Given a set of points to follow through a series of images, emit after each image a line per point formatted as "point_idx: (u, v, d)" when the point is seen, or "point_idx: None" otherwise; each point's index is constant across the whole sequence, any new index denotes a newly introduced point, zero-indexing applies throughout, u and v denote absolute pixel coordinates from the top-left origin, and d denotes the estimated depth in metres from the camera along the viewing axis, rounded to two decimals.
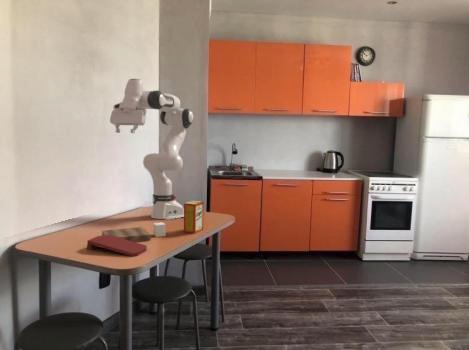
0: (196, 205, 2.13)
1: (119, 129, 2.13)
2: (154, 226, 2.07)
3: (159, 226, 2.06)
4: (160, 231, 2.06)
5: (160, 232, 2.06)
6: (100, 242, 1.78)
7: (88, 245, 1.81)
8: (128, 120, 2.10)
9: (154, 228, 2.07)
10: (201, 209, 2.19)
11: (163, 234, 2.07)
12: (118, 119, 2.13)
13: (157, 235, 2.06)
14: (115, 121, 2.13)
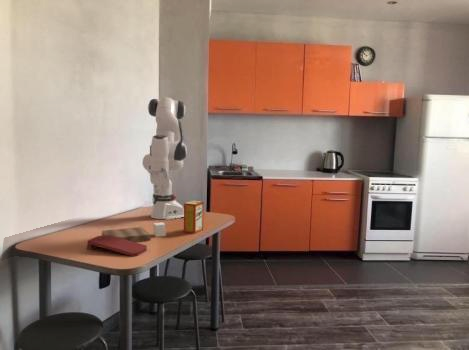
0: (196, 205, 2.13)
1: (157, 190, 2.10)
2: (154, 226, 2.07)
3: (159, 226, 2.06)
4: (160, 231, 2.06)
5: (160, 232, 2.06)
6: (100, 242, 1.78)
7: (88, 245, 1.81)
8: (157, 183, 2.03)
9: (154, 228, 2.07)
10: (201, 209, 2.19)
11: (163, 234, 2.07)
12: (153, 180, 2.09)
13: (157, 235, 2.06)
14: (152, 182, 2.10)
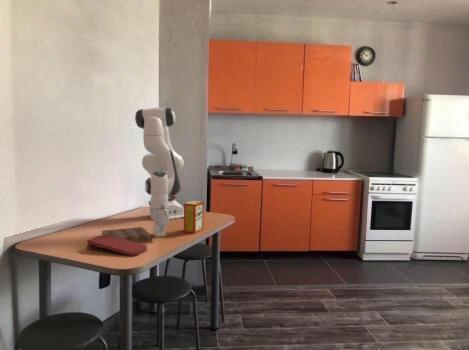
0: (196, 205, 2.13)
1: None
2: (154, 226, 2.07)
3: (159, 226, 2.06)
4: None
5: (160, 232, 2.06)
6: (100, 242, 1.78)
7: (88, 245, 1.81)
8: (157, 220, 2.05)
9: (154, 228, 2.07)
10: (201, 209, 2.19)
11: (163, 234, 2.07)
12: (153, 216, 2.11)
13: (157, 235, 2.06)
14: (152, 218, 2.12)
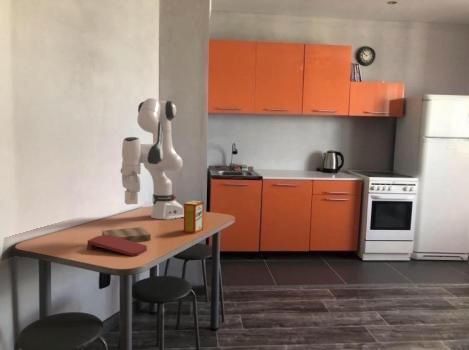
0: (196, 205, 2.13)
1: None
2: (125, 194, 1.98)
3: (130, 193, 1.96)
4: None
5: (132, 200, 1.97)
6: (100, 242, 1.78)
7: (88, 245, 1.81)
8: (128, 187, 1.96)
9: (125, 196, 1.98)
10: (201, 209, 2.19)
11: (135, 202, 1.98)
12: (125, 183, 2.02)
13: (128, 203, 1.96)
14: (124, 186, 2.03)
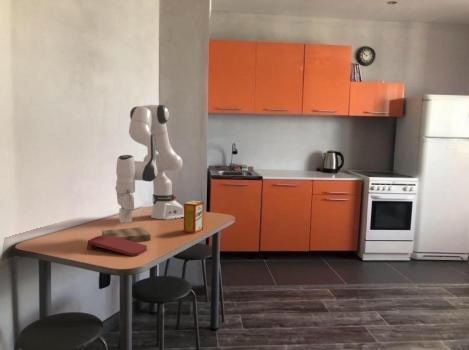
0: (196, 205, 2.13)
1: None
2: (120, 211, 1.98)
3: (125, 211, 1.97)
4: None
5: (126, 218, 1.97)
6: (100, 242, 1.78)
7: (88, 245, 1.81)
8: (122, 205, 1.96)
9: (120, 213, 1.98)
10: (201, 209, 2.19)
11: (129, 220, 1.98)
12: (119, 201, 2.02)
13: (123, 221, 1.97)
14: (119, 203, 2.03)
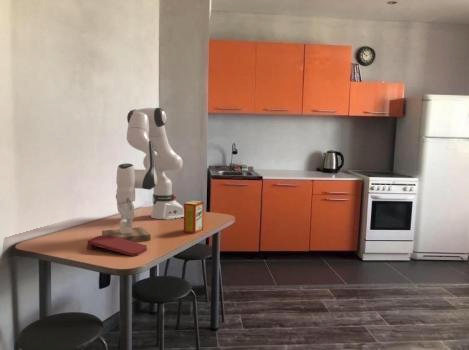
0: (196, 205, 2.13)
1: None
2: (120, 223, 1.99)
3: (125, 223, 1.97)
4: (127, 228, 1.98)
5: (127, 229, 1.98)
6: (100, 242, 1.78)
7: (88, 245, 1.81)
8: (123, 214, 1.97)
9: (120, 225, 1.99)
10: (201, 209, 2.19)
11: (130, 231, 1.99)
12: (120, 209, 2.02)
13: (123, 232, 1.97)
14: (119, 212, 2.04)
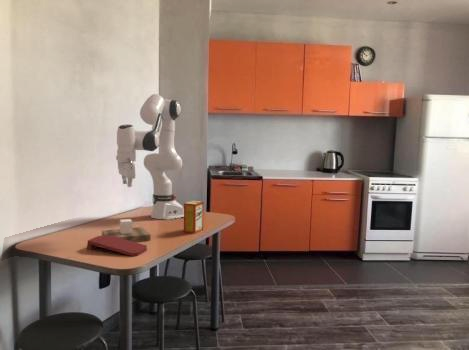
0: (196, 205, 2.13)
1: (125, 180, 2.06)
2: (120, 223, 1.99)
3: (125, 223, 1.97)
4: (127, 228, 1.98)
5: (127, 229, 1.98)
6: (100, 242, 1.78)
7: (88, 245, 1.81)
8: (124, 174, 2.00)
9: (120, 225, 1.99)
10: (201, 209, 2.19)
11: (130, 231, 1.99)
12: (120, 170, 2.05)
13: (123, 232, 1.97)
14: (120, 173, 2.07)
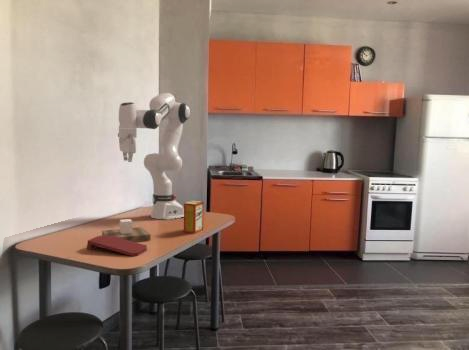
0: (196, 205, 2.13)
1: (126, 157, 2.13)
2: (120, 223, 1.99)
3: (125, 223, 1.97)
4: (127, 228, 1.98)
5: (127, 229, 1.98)
6: (100, 242, 1.78)
7: (88, 245, 1.81)
8: (124, 150, 2.07)
9: (120, 225, 1.99)
10: (201, 209, 2.19)
11: (130, 231, 1.99)
12: (122, 147, 2.12)
13: (123, 232, 1.97)
14: (121, 150, 2.14)
